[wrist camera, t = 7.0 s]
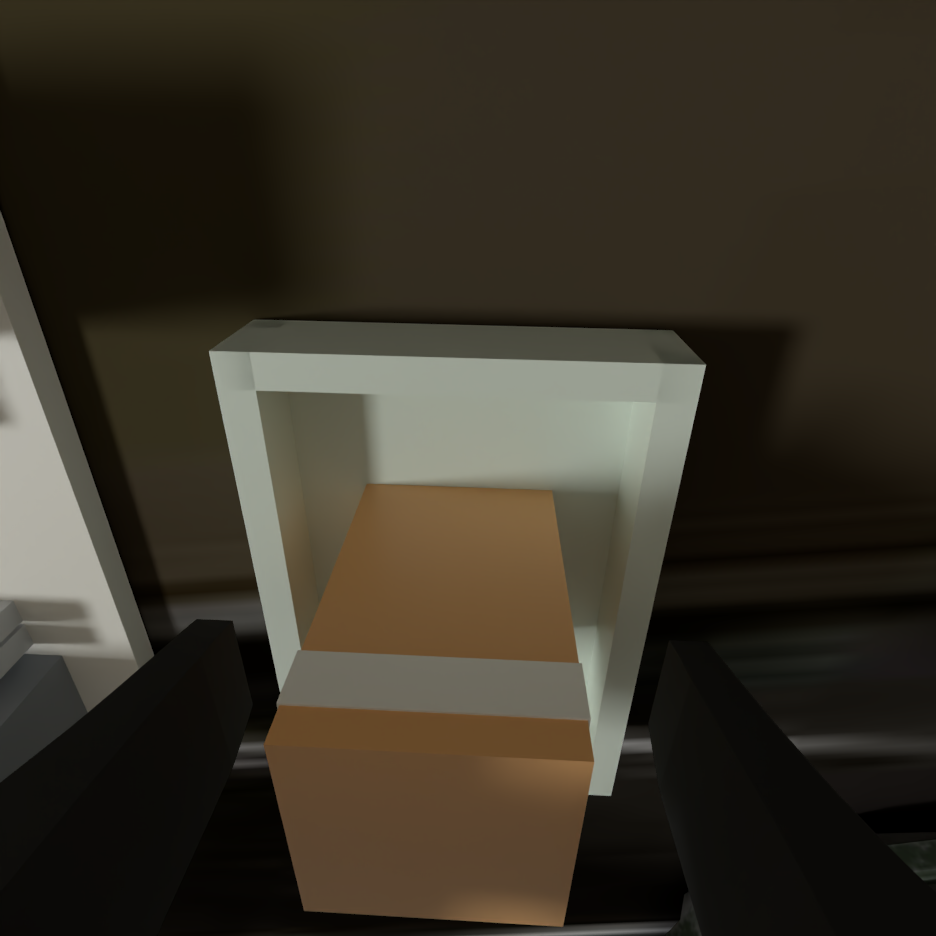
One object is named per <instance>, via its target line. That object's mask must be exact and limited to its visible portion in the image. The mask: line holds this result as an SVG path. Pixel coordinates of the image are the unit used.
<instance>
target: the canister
mask: <svg viewBox="0 0 936 936" xmlns="http://www.w3.org/2000/svg"><path fill="white" fill-rule="evenodd" d="M877 835H878V836H879V837H880V838H881V839H882V840H883V841H884V842H885V843H886V844H887V845H888V846H889V847H890V848H891V849H892V850H893V851H894V852H895V853H896V854H897V855H898V856H899V857H900V858H901V859H902V860H903V861H904V862H905V863H906V864H907V865H908V866H909V867H910V868H911V869H912V870H913V871H914V872H915V873H916V874H917V875H918V876H919V877H920V878H921V879H922V880H923V881H924V882H925V883H926V884H927V885H929V886H930V887H931V888H932V889H933V890H934V891H935V892H936V832H919V833H883V834H877ZM665 936H702V935H701V932H700V928H699V925H698V921H697V918H696V914H695V911H694V908H693V904H692V901H691V897H690V894H689V892H687V893H686V894H684V899H683V905H682V911H681V918H680V921H679V922H678V923H677V924H676V925H675V926H674V927H673V928H672V929H671V930H670V931H669V932H668V933H667V934H666V935H665Z"/></svg>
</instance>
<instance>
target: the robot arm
mask: <svg viewBox="0 0 936 936" xmlns="http://www.w3.org/2000/svg"><path fill="white" fill-rule="evenodd" d="M252 706H253V703H252V699H251V695H250V691H249V687H248V683H247V678H246V674H245V670H244V666H243V662H242V658H241V654H240V650H239V646H238V642H237V638H236V634H235V630H234V625H233V621H223V620H201V619H196V620H195V621H194V622H193V623H192V624H190V625H189V626H188V627H187V628H186V629H184V630H183V631H182V632H181V633H180V634H179V635H177V636H176V637H175V638H174V639H173V640H172V641H171V642H169V643H168V644H167V645H166V646H165V647H164V648H163V649H161V650H160V651H159V652H158V653H157V654H156V655H154V656H153V657H152V658H151V659H150V660H149V661H148V662H146V663H145V664H144V665H143V666H142V667H141V668H139V669H138V670H137V671H136V672H135V673H134V674H133V675H131V676H130V677H129V678H128V679H127V680H126V681H124V682H123V683H122V684H121V685H120V686H119V687H117V688H116V689H115V690H114V691H113V692H112V693H110V694H109V695H108V696H107V697H106V698H104V699H103V700H102V701H101V702H100V703H99V704H97V705H96V706H95V707H94V708H93V709H91V710H90V711H89V712H88V713H87V714H86V715H84V716H83V717H82V718H81V719H80V720H78V721H77V722H76V723H75V724H74V725H72V726H71V727H70V728H69V729H67V730H66V731H65V732H64V733H62V734H61V735H60V736H59V737H57V738H56V739H55V740H54V741H52V742H51V743H50V744H48V745H47V746H46V747H45V748H43V749H42V750H41V751H40V752H38V753H37V754H36V755H35V756H33V757H32V758H31V759H29V760H28V761H27V762H26V763H24V764H23V765H22V766H21V767H19V768H18V769H17V770H16V771H14V772H13V773H12V774H10V775H9V776H8V777H7V778H5V779H4V780H3V781H2V782H0V936H158V933H159V931H160V929H161V926H162V924H163V921H164V919H165V917H166V914H167V912H168V910H169V908H170V906H171V903H172V901H173V899H174V897H175V895H176V892H177V890H178V888H179V886H180V884H181V881H182V879H183V877H184V875H185V873H186V870H187V868H188V866H189V864H190V862H191V859H192V857H193V855H194V853H195V851H196V848H197V846H198V844H199V842H200V840H201V837H202V835H203V833H204V831H205V829H206V826H207V824H208V822H209V820H210V818H211V815H212V813H213V811H214V809H215V806H216V804H217V802H218V800H219V797H220V795H221V793H222V791H223V788H224V786H225V784H226V782H227V779H228V777H229V775H230V772H231V770H232V768H233V765H234V762H235V759H236V756H237V753H238V750H239V747H240V744H241V741H242V738H243V735H244V732H245V729H246V725H247V722H248V719H249V716H250V712H251V709H252ZM648 726H649V732H650V738H651V744H652V750H653V756H654V762H655V767H656V773H657V778H658V784H659V789H660V793H661V796H662V800H663V803H664V807H665V811H666V814H667V818H668V821H669V825H670V828H671V832H672V835H673V839H674V842H675V846H676V849H677V853H678V856H679V859H680V863H681V866H682V870H683V873H684V877H685V880H686V883H687V887H688V890H689V894H690V897H691V901H692V904H693V908H694V911H695V914H696V918H697V921H698V925H699V928H700V932H701V935H702V936H936V892H935V891H934V890H933V889H932V888H931V887H930V886H929V885H927V884H926V883H925V882H924V881H923V880H922V879H921V878H920V877H919V876H918V875H917V874H916V873H915V872H914V871H913V870H912V869H911V868H910V867H909V866H908V865H907V864H906V863H905V862H904V861H903V860H902V859H901V858H900V857H899V856H898V855H897V854H896V853H895V852H894V851H893V850H892V849H891V848H890V847H889V846H888V845H887V844H886V843H885V842H884V841H883V840H882V839H881V838H880V837H879V836H878V835H877V834H876V833H875V832H874V831H873V830H872V829H871V828H870V827H869V826H868V825H867V824H866V823H865V822H864V821H863V820H862V819H861V817H860V816H859V815H858V814H857V813H856V812H855V811H854V810H853V809H852V808H851V807H850V806H849V805H848V804H847V803H846V802H845V801H844V800H843V799H842V797H841V796H840V795H839V794H838V793H837V792H836V791H835V790H834V789H833V788H832V787H831V786H830V784H829V783H828V782H827V781H826V780H825V779H824V778H823V777H822V776H821V775H820V773H819V772H818V771H817V770H816V769H815V768H814V767H813V766H812V764H811V763H810V762H809V761H808V760H807V759H806V758H805V757H804V755H803V754H802V753H801V752H800V751H799V750H798V749H797V748H796V746H795V745H794V744H793V743H792V742H791V741H790V740H789V739H788V737H787V736H786V735H785V734H784V733H783V732H782V730H781V729H780V728H779V727H778V726H777V725H776V723H775V722H774V721H773V720H772V719H771V718H770V716H769V715H768V714H767V713H766V712H765V710H764V709H763V708H762V707H761V706H760V705H759V703H758V702H757V701H756V700H755V699H754V697H753V696H752V695H751V694H750V693H749V691H748V690H747V689H746V688H745V687H744V685H743V684H742V683H741V682H740V680H739V679H738V678H737V677H736V676H735V674H734V673H733V672H732V671H731V670H730V668H729V667H728V666H727V665H726V663H725V662H724V661H723V660H722V659H721V657H720V656H719V655H718V654H717V653H716V651H715V650H714V649H713V648H712V647H711V646H710V644H709V643H708V642H701V641H678V640H669V642H668V646H667V650H666V654H665V658H664V662H663V666H662V670H661V674H660V678H659V682H658V686H657V690H656V694H655V699H654V703H653V707H652V711H651V715H650V719H649V723H648Z"/></svg>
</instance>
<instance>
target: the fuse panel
mask: <svg viewBox="0 0 936 936" xmlns="http://www.w3.org/2000/svg"><path fill="white" fill-rule="evenodd" d="M153 656H154V653H153V650H152V647H151V645H150V642H149V639H148V636H147V633H146V630H145V627H144V624H143V621H142V619H141V616H140V613H139V610H138V607H137V604H136V601H135V598H134V595H133V593H132V590H131V587H130V584H129V581H128V578H127V575H126V572H125V569H124V567H123V564H122V561H121V558H120V555H119V552H118V549H117V546H116V543H115V541H114V538H113V535H112V532H111V529H110V526H109V523H108V520H107V517H106V515H105V512H104V509H103V506H102V503H101V500H100V497H99V494H98V491H97V489H96V486H95V483H94V480H93V477H92V474H91V471H90V468H89V465H88V463H87V460H86V457H85V454H84V451H83V448H82V445H81V442H80V439H79V437H78V434H77V431H76V428H75V425H74V422H73V419H72V416H71V413H70V411H69V408H68V405H67V402H66V399H65V396H64V393H63V390H62V387H61V385H60V382H59V379H58V376H57V373H56V370H55V367H54V364H53V361H52V359H51V356H50V353H49V350H48V347H47V344H46V341H45V338H44V335H43V333H42V330H41V327H40V324H39V321H38V318H37V315H36V312H35V309H34V307H33V304H32V301H31V298H30V295H29V292H28V289H27V286H26V283H25V281H24V278H23V275H22V272H21V269H20V266H19V263H18V260H17V257H16V255H15V252H14V249H13V246H12V243H11V240H10V237H9V234H8V231H7V229H6V226H5V223H4V220H3V217H2V214H1V211H0V782H2V781H3V780H4V779H5V778H7V777H8V776H9V775H10V774H12V773H13V772H14V771H16V770H17V769H18V768H19V767H21V766H22V765H23V764H24V763H26V762H27V761H28V760H29V759H31V758H32V757H33V756H35V755H36V754H37V753H38V752H40V751H41V750H42V749H43V748H45V747H46V746H47V745H48V744H50V743H51V742H52V741H54V740H55V739H56V738H57V737H59V736H60V735H61V734H62V733H64V732H65V731H66V730H67V729H69V728H70V727H71V726H72V725H74V724H75V723H76V722H77V721H78V720H80V719H81V718H82V717H83V716H84V715H86V714H87V713H88V712H89V711H90V710H91V709H93V708H94V707H95V706H96V705H97V704H99V703H100V702H101V701H102V700H103V699H104V698H106V697H107V696H108V695H109V694H110V693H112V692H113V691H114V690H115V689H116V688H117V687H119V686H120V685H121V684H122V683H123V682H124V681H126V680H127V679H128V678H129V677H130V676H131V675H133V674H134V673H135V672H136V671H137V670H138V669H139V668H141V667H142V666H143V665H144V664H145V663H146V662H148V661H149V660H150V659H151V658H152V657H153Z"/></svg>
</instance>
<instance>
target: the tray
mask: <svg viewBox="0 0 936 936" xmlns="http://www.w3.org/2000/svg"><path fill="white" fill-rule="evenodd" d="M209 355H210V359H211V364H212V369H213V374H214V379H215V383H216V388H217V393H218V398H219V403H220V407H221V412H222V417H223V422H224V426H225V431H226V436H227V441H228V446H229V450H230V455H231V460H232V465H233V470H234V474H235V479H236V484H237V489H238V493H239V498H240V503H241V508H242V513H243V517H244V522H245V527H246V532H247V537H248V541H249V546H250V551H251V556H252V561H253V565H254V570H255V575H256V580H257V584H258V589H259V594H260V599H261V604H262V608H263V613H264V618H265V623H266V628H267V632H268V637H269V642H270V647H271V651H272V656H273V661H274V666H275V671H276V675H277V680H278V685H279V690H280V693H281V690H282V688H283V685H284V683H285V680H286V678H287V675H288V673H289V670H290V668H291V665H292V663H293V660H294V658H295V656H296V653H297V651H298V650H301V649H302V646H303V644H304V641H305V639H306V636H307V634H308V631H309V629H310V626H311V624H312V621H313V619H314V616H315V614H316V611H317V609H318V606H319V603H320V601H321V598H322V596H323V593H324V591H325V588H326V586H327V583H328V581H329V578H330V576H331V573H332V571H333V568H334V566H335V563H336V560H337V558H338V555H339V553H340V550H341V548H342V545H343V543H344V540H345V538H346V535H347V533H348V530H349V528H350V525H351V523H352V520H353V517H354V515H355V512H356V510H357V507H358V505H359V502H360V500H361V497H362V495H363V492H364V490H365V487H366V485H367V484H391V485H419V486H446V487H474V488H502V489H530V490H552V494H553V500H554V506H555V513H556V519H557V526H558V532H559V538H560V545H561V551H562V558H563V564H564V570H565V577H566V583H567V590H568V596H569V602H570V609H571V615H572V622H573V628H574V635H575V641H576V647H577V654H578V660H579V663H582V667H583V673H584V679H585V685H586V691H587V698H588V704H589V710H590V716H591V721H590V727H589V731H590V737H591V743H592V750H593V756H594V767H593V772H592V777H591V782H590V788H589V793H588V795H604V796H611V793H612V789H613V784H614V780H615V775H616V771H617V766H618V762H619V757H620V752H621V748H622V743H623V739H624V734H625V730H626V725H627V721H628V716H629V712H630V707H631V703H632V698H633V694H634V689H635V685H636V680H637V676H638V671H639V667H640V662H641V657H642V653H643V648H644V644H645V639H646V635H647V630H648V626H649V621H650V617H651V612H652V608H653V603H654V599H655V594H656V590H657V585H658V581H659V576H660V571H661V567H662V562H663V558H664V553H665V549H666V544H667V540H668V535H669V531H670V526H671V522H672V517H673V513H674V508H675V504H676V499H677V495H678V490H679V486H680V481H681V476H682V472H683V467H684V463H685V458H686V454H687V449H688V445H689V440H690V436H691V431H692V427H693V422H694V418H695V413H696V409H697V404H698V400H699V395H700V390H701V386H702V381H703V377H704V372H705V368H706V364H705V363H704V362H703V361H702V360H701V359H700V358H699V357H698V356H697V355H696V354H695V353H694V352H693V351H692V350H691V349H690V348H689V346H688V345H687V344H686V343H685V342H684V341H683V340H682V339H681V338H680V337H679V336H678V335H677V334H676V333H675V332H674V331H673V330H643V329H605V328H566V327H527V326H488V325H450V324H411V323H372V322H334V321H295V320H256V319H254V320H253V321H251V322H250V323H248V324H247V325H245V326H244V327H243V328H241V329H240V330H238V331H237V332H235V333H234V334H233V335H231V336H230V337H228V338H227V339H225V340H224V341H222V342H221V343H220V344H218V345H217V346H215V347H214V348H212V349H211V350H209Z"/></svg>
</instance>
